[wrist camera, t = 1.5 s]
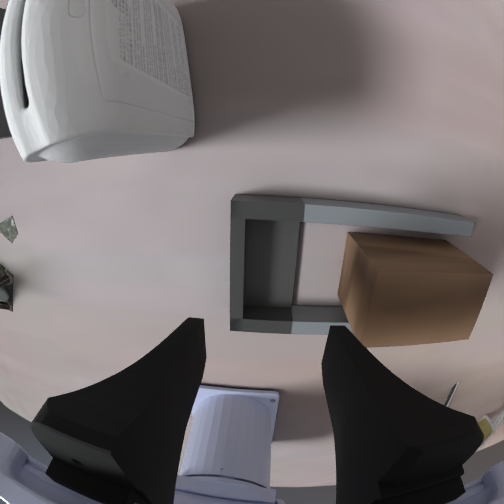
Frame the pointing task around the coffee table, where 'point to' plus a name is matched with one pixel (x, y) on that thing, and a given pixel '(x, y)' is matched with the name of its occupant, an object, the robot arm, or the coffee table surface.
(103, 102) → the photo printer
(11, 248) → the coffee table surface
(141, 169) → the coffee table surface
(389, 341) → the walnut block
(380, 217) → the channel
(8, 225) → the eiffel tower figurine
